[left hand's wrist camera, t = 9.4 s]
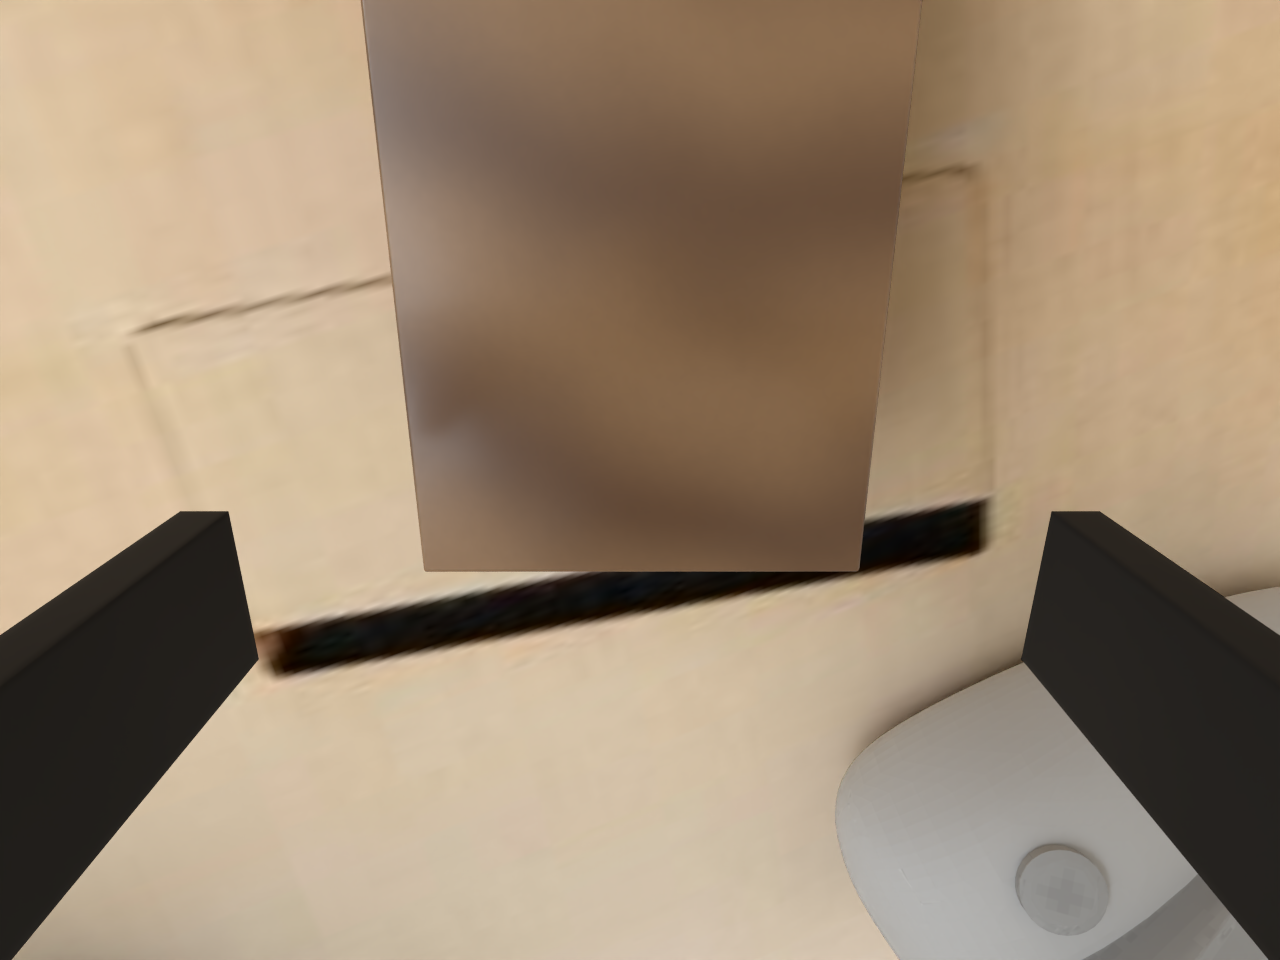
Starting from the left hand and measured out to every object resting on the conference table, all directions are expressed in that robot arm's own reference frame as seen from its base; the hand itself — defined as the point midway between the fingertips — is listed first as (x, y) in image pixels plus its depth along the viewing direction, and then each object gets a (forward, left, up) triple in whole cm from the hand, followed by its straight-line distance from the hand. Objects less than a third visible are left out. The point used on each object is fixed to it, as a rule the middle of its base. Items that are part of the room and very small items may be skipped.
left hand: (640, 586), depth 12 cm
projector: (-7, -26, -18) cm, 33 cm away
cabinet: (+6, +3, -18) cm, 19 cm away
